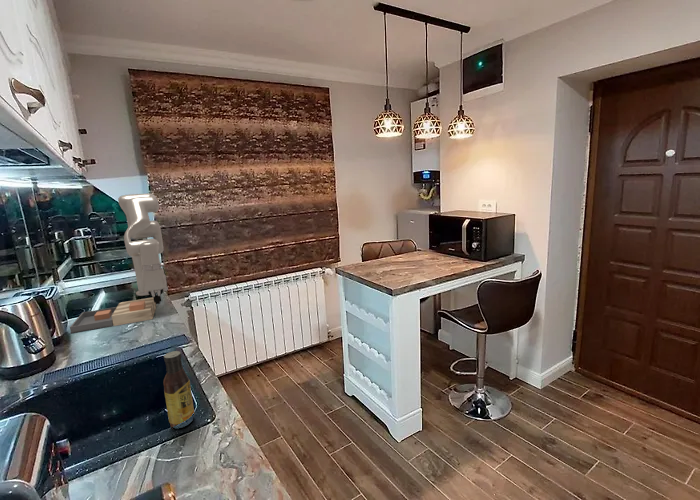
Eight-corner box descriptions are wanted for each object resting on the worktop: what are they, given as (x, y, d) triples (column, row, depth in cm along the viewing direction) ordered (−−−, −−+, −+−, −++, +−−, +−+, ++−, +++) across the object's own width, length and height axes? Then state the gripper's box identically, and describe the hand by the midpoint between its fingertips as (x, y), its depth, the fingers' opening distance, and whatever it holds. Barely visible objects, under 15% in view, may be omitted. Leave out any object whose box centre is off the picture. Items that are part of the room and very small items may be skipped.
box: (83, 318, 179) (82, 312, 179) (120, 312, 185) (119, 306, 184) (71, 333, 161) (69, 327, 160) (112, 326, 167) (111, 320, 166)
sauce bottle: (189, 430, 94) (177, 360, 90) (165, 431, 94) (152, 361, 90) (199, 414, 100) (189, 348, 96) (177, 415, 101) (166, 349, 97)
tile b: (131, 307, 176) (130, 302, 175) (145, 305, 178) (144, 300, 178) (129, 311, 170) (128, 306, 170) (144, 309, 173) (143, 304, 172)
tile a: (111, 309, 181) (112, 314, 181) (96, 311, 178) (97, 316, 179) (108, 313, 175) (109, 318, 176) (94, 315, 173) (95, 320, 174)
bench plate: (121, 311, 185) (119, 302, 184) (156, 306, 191) (154, 297, 190) (113, 326, 167) (111, 315, 166) (152, 319, 173) (150, 309, 172)
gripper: (169, 263, 180) (175, 298, 184) (135, 267, 174) (141, 303, 178) (168, 266, 173) (174, 302, 177) (132, 271, 167) (139, 308, 171)
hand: (158, 303), depth 177 cm, fingers closed
